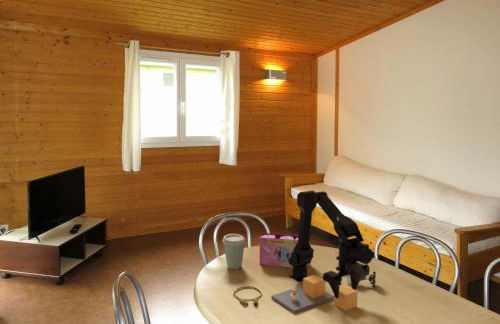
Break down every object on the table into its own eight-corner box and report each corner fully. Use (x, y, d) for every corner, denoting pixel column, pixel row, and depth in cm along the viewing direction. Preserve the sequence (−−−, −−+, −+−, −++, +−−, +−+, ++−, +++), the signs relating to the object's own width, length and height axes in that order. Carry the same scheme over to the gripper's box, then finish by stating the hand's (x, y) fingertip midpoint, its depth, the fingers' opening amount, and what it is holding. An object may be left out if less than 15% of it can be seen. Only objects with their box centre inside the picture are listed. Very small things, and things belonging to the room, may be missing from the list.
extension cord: (226, 304, 152) (226, 299, 152) (238, 287, 167) (238, 282, 167) (256, 308, 149) (256, 303, 148) (266, 290, 164) (266, 286, 163)
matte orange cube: (333, 304, 151) (334, 289, 150) (345, 300, 154) (345, 285, 153) (345, 310, 146) (346, 295, 145) (357, 306, 149) (357, 291, 148)
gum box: (311, 263, 192) (311, 236, 190) (309, 269, 184) (309, 241, 182) (262, 258, 198) (262, 232, 196) (259, 264, 190) (258, 237, 188)
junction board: (271, 298, 156) (271, 281, 155) (309, 286, 167) (310, 269, 166) (294, 313, 144) (294, 294, 143) (333, 299, 155) (334, 281, 154)
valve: (344, 285, 167) (374, 290, 163) (345, 270, 166) (375, 274, 162) (346, 279, 173) (375, 283, 169) (347, 264, 172) (376, 268, 168)
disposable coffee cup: (249, 265, 189) (249, 235, 187) (237, 273, 180) (236, 241, 178) (231, 261, 194) (231, 231, 192) (218, 268, 185) (217, 237, 183)
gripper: (345, 267, 136) (343, 310, 138) (380, 256, 146) (379, 296, 148) (322, 257, 145) (321, 298, 147) (357, 247, 155) (356, 285, 157)
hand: (345, 294), depth 150 cm, fingers open, 9 cm apart
